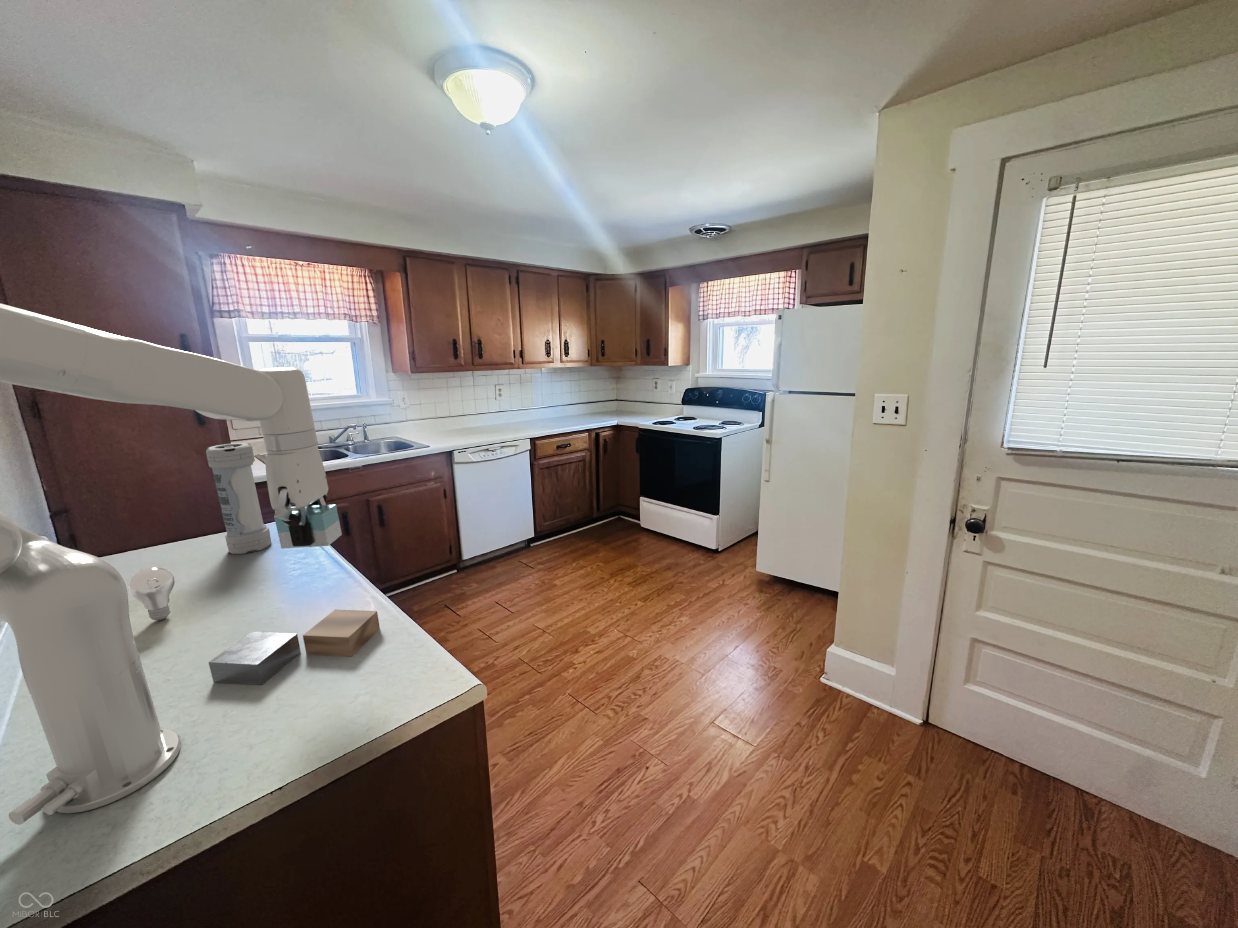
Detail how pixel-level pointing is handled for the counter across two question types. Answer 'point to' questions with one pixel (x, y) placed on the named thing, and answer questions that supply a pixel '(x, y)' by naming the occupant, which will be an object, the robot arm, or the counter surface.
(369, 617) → the stand
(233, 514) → the canister
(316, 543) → the teal and grey block
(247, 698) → the counter surface
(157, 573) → the light bulb
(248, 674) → the stand
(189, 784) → the counter surface
